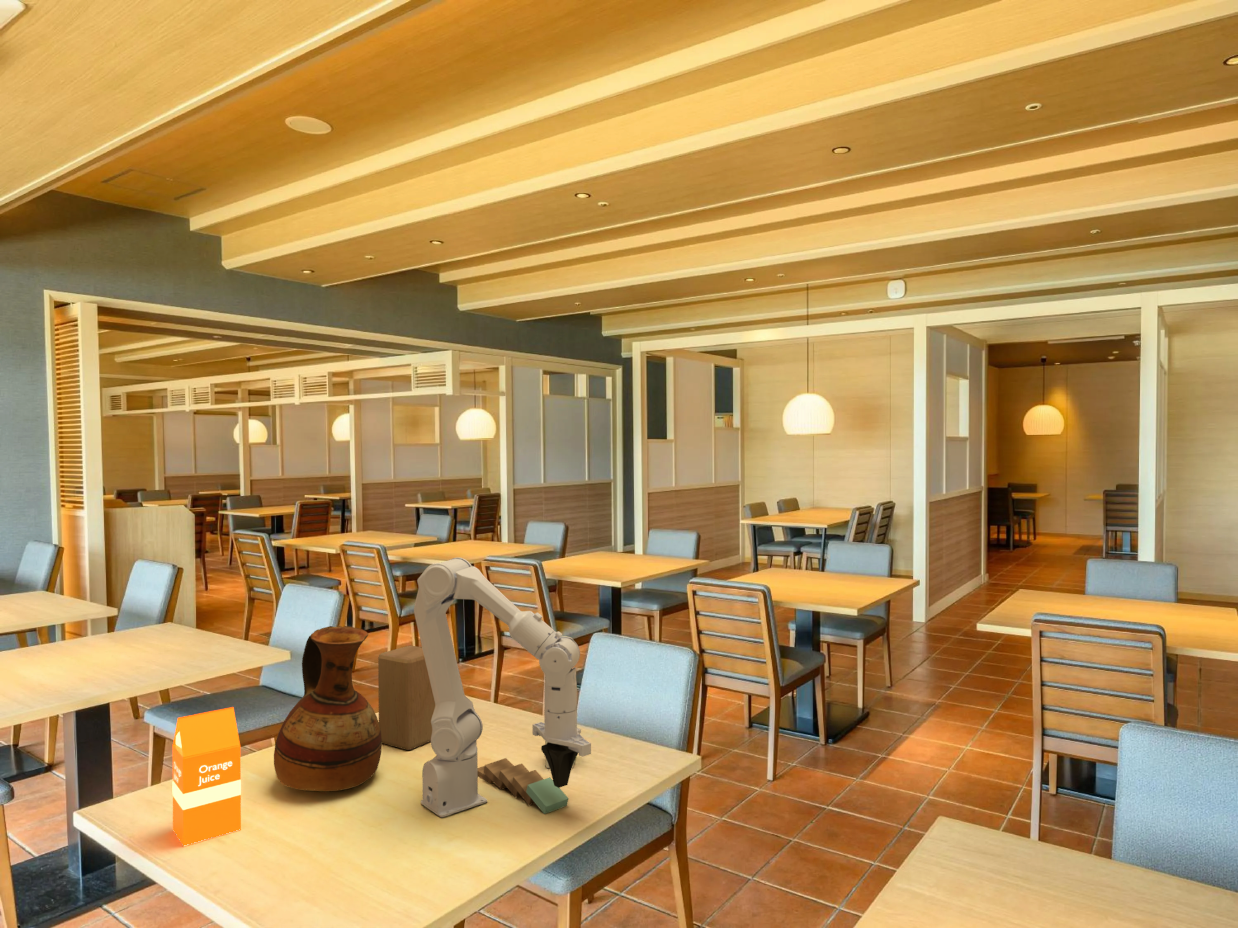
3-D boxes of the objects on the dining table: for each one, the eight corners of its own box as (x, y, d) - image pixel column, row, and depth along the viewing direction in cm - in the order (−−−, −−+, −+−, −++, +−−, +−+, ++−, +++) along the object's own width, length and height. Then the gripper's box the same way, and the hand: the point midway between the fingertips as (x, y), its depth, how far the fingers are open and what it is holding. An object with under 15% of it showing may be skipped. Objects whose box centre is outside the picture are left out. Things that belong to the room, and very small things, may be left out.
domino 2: (501, 781, 147) (484, 764, 151) (500, 789, 147) (483, 772, 151) (523, 774, 150) (505, 757, 154) (522, 781, 150) (504, 764, 155)
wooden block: (442, 737, 175) (441, 649, 175) (408, 752, 166) (408, 658, 166) (411, 730, 180) (410, 643, 180) (376, 743, 171) (376, 653, 171)
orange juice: (241, 829, 131) (240, 711, 131) (183, 847, 125) (182, 723, 125) (228, 814, 137) (227, 701, 137) (172, 830, 131) (171, 712, 131)
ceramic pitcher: (311, 813, 137) (310, 644, 137) (252, 785, 149) (252, 630, 149) (402, 777, 153) (402, 625, 153) (343, 754, 165) (342, 614, 165)
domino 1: (490, 777, 150) (474, 768, 154) (491, 786, 150) (474, 776, 154) (512, 770, 153) (496, 762, 158) (512, 779, 153) (496, 770, 158)
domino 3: (517, 790, 143) (500, 770, 147) (515, 797, 143) (498, 777, 148) (539, 782, 146) (521, 763, 151) (537, 789, 147) (520, 770, 151)
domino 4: (530, 797, 140) (513, 776, 144) (529, 805, 140) (511, 783, 144) (553, 790, 143) (535, 769, 147) (551, 797, 143) (533, 776, 148)
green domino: (546, 806, 136) (527, 784, 140) (544, 813, 137) (526, 791, 141) (568, 798, 140) (550, 777, 144) (566, 805, 140) (548, 784, 144)
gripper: (604, 713, 134) (604, 791, 134) (554, 694, 145) (554, 767, 145) (572, 722, 130) (572, 803, 130) (522, 702, 141) (523, 777, 141)
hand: (560, 785), depth 137 cm, fingers closed
